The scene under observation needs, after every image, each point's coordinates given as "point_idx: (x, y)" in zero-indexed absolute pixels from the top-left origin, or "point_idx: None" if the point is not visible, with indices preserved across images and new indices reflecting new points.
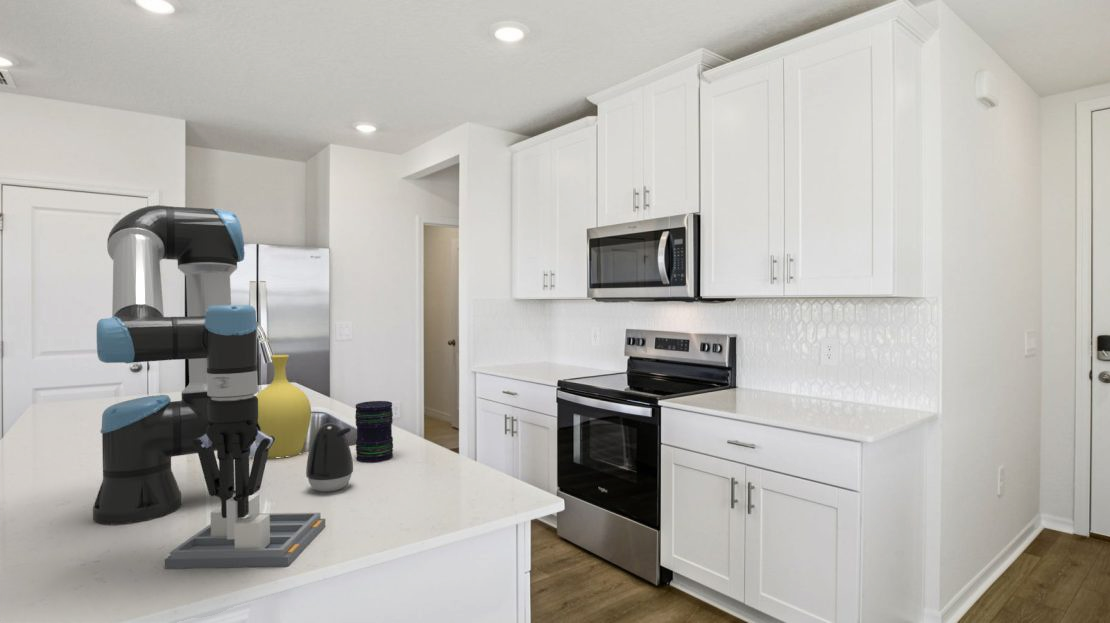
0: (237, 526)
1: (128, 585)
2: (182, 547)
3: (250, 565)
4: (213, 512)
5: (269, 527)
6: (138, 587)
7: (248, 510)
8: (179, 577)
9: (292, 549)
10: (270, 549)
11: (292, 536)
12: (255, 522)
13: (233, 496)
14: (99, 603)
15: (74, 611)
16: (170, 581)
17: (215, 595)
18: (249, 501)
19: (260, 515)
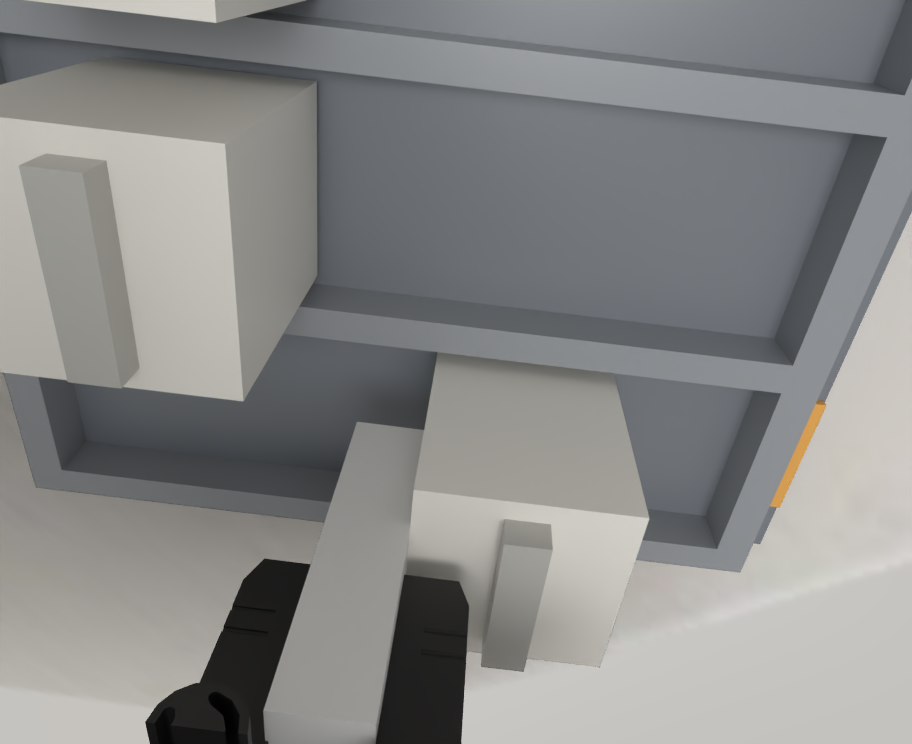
0: None
1: (32, 549)
2: (54, 424)
3: None
4: (25, 374)
5: (628, 444)
6: (94, 572)
7: (467, 617)
8: (215, 520)
9: (783, 478)
10: (662, 557)
11: (790, 391)
12: (569, 652)
13: (275, 741)
14: (50, 651)
15: (11, 679)
16: (200, 548)
17: (473, 674)
18: (217, 2)
19: (565, 527)
